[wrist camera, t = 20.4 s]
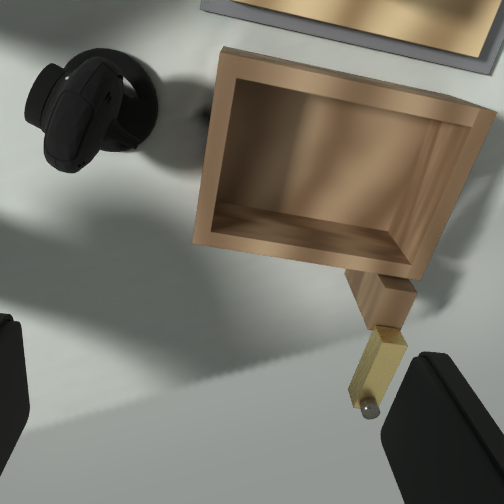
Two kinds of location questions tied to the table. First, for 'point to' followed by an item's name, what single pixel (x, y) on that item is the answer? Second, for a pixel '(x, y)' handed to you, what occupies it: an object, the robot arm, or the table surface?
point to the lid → (402, 19)
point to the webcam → (91, 107)
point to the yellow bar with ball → (376, 369)
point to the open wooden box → (335, 173)
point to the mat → (368, 35)
